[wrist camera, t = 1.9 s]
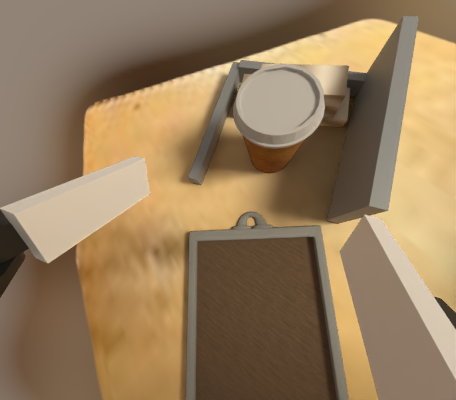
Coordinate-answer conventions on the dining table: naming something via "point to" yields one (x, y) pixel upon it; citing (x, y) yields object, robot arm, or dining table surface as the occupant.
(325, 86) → the offcut stack
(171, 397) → the dining table surface
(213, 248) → the empty picture frame
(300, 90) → the disposable coffee cup
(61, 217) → the robot arm
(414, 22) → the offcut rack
